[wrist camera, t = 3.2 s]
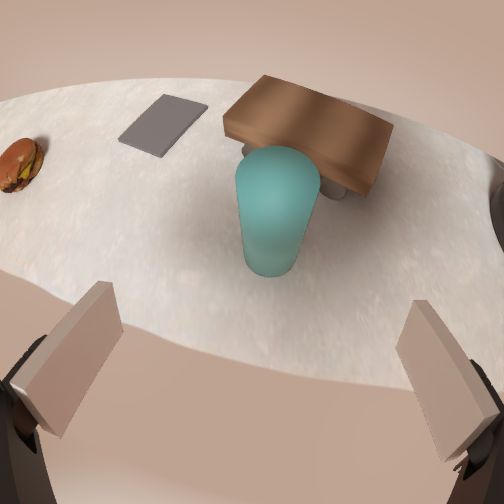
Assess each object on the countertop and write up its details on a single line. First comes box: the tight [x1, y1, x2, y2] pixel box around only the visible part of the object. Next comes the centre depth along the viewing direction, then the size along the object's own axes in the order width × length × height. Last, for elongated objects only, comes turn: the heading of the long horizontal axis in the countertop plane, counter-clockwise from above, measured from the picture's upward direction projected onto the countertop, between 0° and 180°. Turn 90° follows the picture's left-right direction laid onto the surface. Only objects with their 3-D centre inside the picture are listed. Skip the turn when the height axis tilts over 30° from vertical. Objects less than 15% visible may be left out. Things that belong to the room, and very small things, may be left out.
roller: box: [235, 146, 320, 277], centre depth 22 cm, size 5×5×12 cm
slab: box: [223, 75, 394, 200], centre depth 29 cm, size 16×9×6 cm, turn 61°
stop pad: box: [118, 94, 208, 158], centre depth 34 cm, size 8×10×1 cm
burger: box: [0, 138, 43, 193], centre depth 31 cm, size 10×9×5 cm
